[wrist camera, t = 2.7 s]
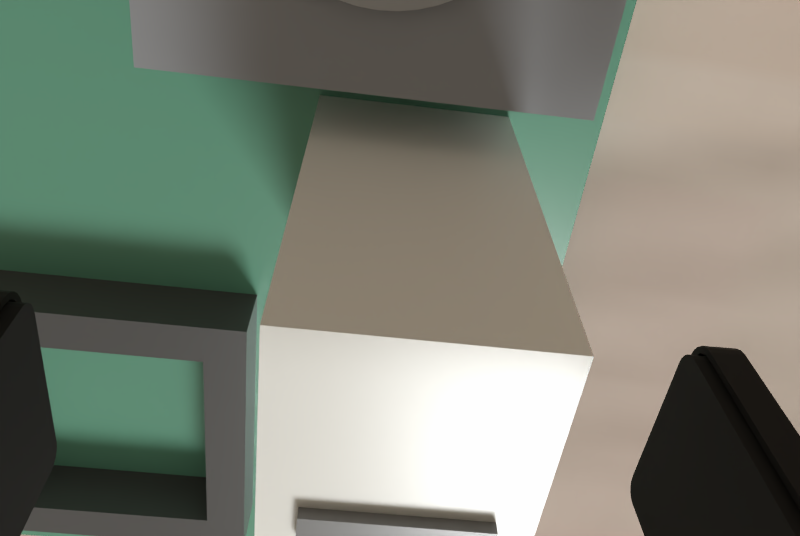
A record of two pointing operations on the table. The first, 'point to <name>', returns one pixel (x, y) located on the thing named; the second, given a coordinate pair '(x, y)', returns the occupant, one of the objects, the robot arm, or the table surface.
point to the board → (226, 205)
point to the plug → (414, 334)
